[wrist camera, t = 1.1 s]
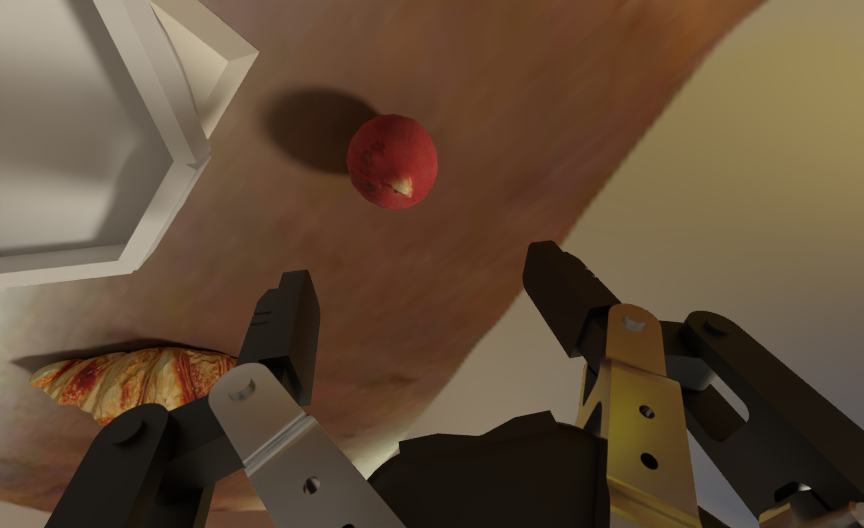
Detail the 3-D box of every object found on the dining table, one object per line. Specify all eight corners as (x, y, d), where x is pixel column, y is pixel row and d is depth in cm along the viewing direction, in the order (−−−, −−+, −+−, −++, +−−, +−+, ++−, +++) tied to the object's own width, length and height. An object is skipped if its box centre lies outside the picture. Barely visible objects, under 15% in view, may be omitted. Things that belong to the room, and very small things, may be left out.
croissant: (80, 350, 34) (35, 437, 30) (16, 326, 25) (-57, 441, 22) (295, 367, 41) (280, 438, 37) (299, 352, 33) (281, 442, 29)
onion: (358, 188, 25) (359, 243, 19) (338, 109, 22) (332, 145, 15) (430, 176, 26) (454, 226, 19) (422, 98, 22) (449, 127, 16)
